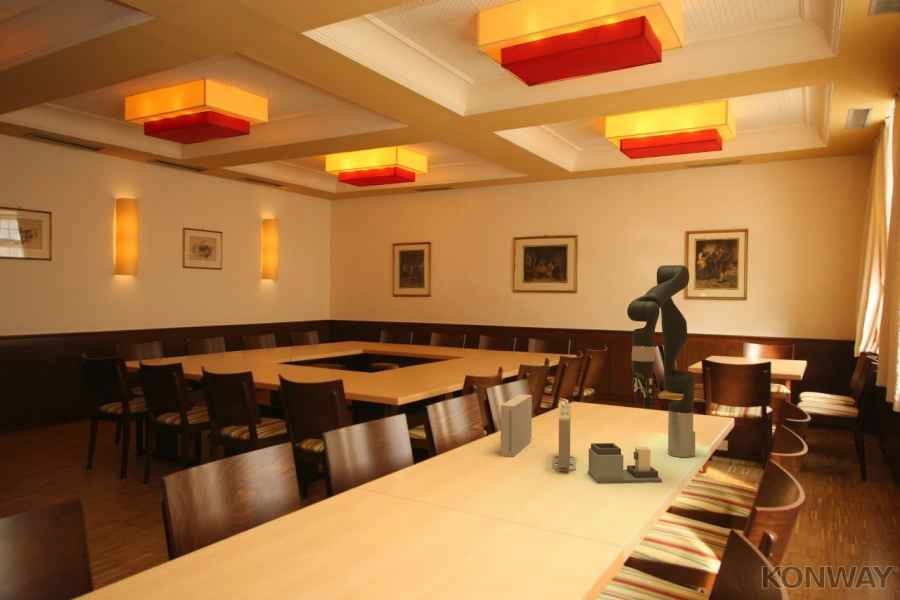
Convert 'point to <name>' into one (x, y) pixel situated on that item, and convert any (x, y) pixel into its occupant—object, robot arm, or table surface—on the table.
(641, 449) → the plug
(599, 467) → the grey stepped block
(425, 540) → the table surface
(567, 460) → the network device
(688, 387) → the robot arm
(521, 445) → the game console
